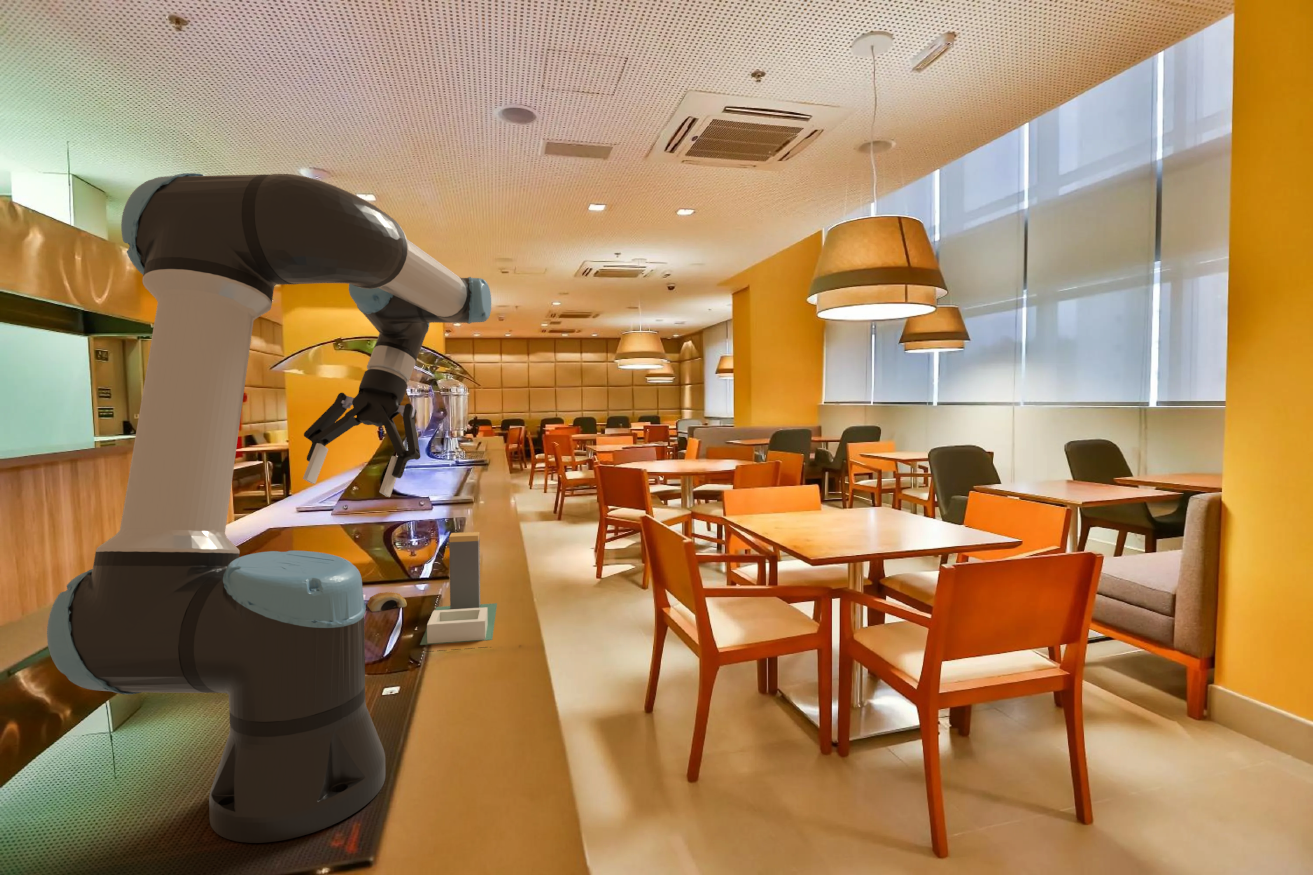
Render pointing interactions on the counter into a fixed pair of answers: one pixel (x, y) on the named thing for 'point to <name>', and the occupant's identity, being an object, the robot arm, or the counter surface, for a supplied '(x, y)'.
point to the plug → (464, 570)
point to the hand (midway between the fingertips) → (346, 488)
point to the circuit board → (489, 636)
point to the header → (457, 625)
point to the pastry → (386, 601)
